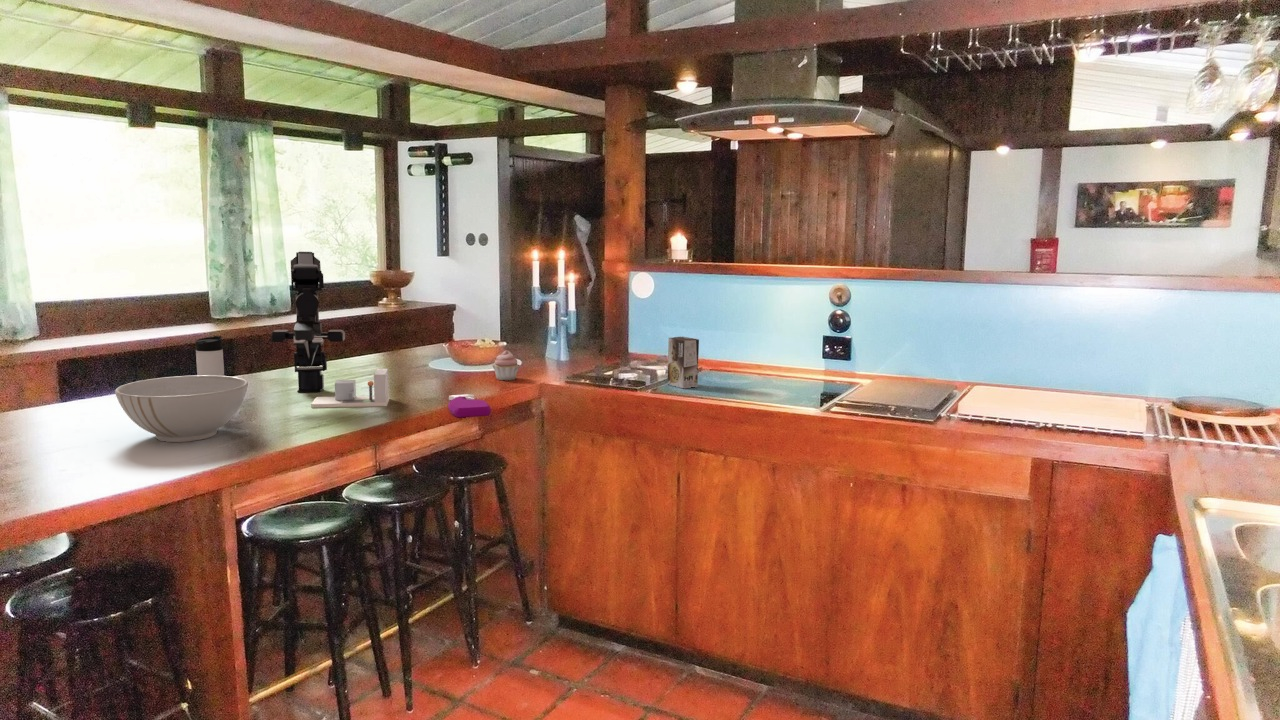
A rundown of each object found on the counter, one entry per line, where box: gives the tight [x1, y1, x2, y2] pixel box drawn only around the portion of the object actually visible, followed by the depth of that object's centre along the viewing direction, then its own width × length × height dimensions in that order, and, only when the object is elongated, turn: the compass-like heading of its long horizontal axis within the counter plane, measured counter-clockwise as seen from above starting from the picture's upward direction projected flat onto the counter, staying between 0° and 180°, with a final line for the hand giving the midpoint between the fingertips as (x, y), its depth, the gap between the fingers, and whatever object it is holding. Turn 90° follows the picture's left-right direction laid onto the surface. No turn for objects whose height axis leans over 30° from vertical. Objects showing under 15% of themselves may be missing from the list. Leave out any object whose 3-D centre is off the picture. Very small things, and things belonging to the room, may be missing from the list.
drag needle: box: [367, 380, 374, 400], centre depth 224 cm, size 2×2×5 cm
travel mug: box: [195, 335, 225, 376], centre depth 210 cm, size 6×7×20 cm
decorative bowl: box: [114, 374, 249, 443], centre depth 186 cm, size 27×27×12 cm
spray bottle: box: [447, 393, 492, 419], centre depth 224 cm, size 3×11×24 cm
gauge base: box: [310, 368, 390, 409], centre depth 225 cm, size 20×10×9 cm, turn 104°
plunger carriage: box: [334, 379, 357, 400], centre depth 225 cm, size 5×8×5 cm, turn 14°
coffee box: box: [667, 336, 700, 389], centre depth 264 cm, size 9×6×16 cm
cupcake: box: [491, 349, 521, 381], centre depth 269 cm, size 9×9×10 cm
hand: (309, 366), depth 223 cm, fingers closed
